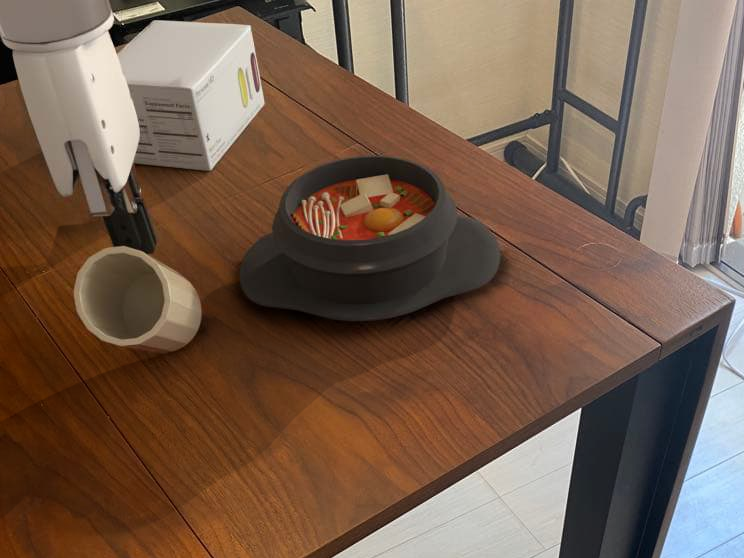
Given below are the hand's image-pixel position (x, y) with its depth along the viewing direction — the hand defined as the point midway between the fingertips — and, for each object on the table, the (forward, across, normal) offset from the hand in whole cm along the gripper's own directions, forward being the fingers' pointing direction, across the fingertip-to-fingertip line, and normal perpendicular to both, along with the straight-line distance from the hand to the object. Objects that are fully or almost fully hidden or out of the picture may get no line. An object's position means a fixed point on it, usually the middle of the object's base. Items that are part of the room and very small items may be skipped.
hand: (137, 249), depth 70 cm
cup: (+7, -1, 0) cm, 7 cm away
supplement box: (+10, -40, -2) cm, 41 cm away
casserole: (+10, -7, +19) cm, 22 cm away
